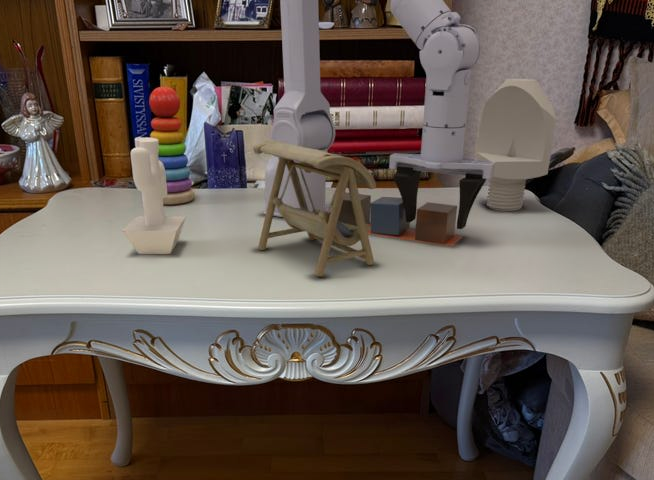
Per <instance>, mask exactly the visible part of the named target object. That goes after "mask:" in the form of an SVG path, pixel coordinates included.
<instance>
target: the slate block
mask: <svg viewBox="0 0 654 480" xmlns="http://www.w3.org/2000/svg"><path fill="white" fill-rule="evenodd" d="M370 224H371V233H376V234H388V235H400V234H401V233H403V232H404V231H406V230H407V229H410V228H411V226H410V225H411V222H406V215H405V209H404V205H403V201H402V197H394V196H391V197H390V196H381V197H379V198H377V199H376V200H374V201H372V202H371V203H370Z"/></svg>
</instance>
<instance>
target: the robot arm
mask: <svg viewBox="0 0 654 480" xmlns="http://www.w3.org/2000/svg"><path fill="white" fill-rule="evenodd" d="M279 3H280V23H281V24H280V25H281V41H282V42H281V43H282V45H281V46H282V47H281V48H282V65H283V66H282V67H283V88H284V93H283V95H282V97H281V98H280V99H279V101H278V102H277V104H276V105H275V106H274V108H273V122H272V124H271V125H272V126H271V127H270V134H269V137H270V138H269V139H270V141H277V142H283V143H287V144H291V145H296V146H301V147H304V148H310V149H315V150H320V151H324V152H327V153H329V152H328V150H329V149H330V148H331V147H332V145H333V143H334V142H335V138H336V127H335V124H334V123H335V122H334V121H333V119H332V115H331V104H330V103H329V101H328V99H326V97H325V95H324V94H323V93H322V91H321V57H320V55H321V53H320V19H319V14H320V13H319V0H279ZM389 6H390V13H391V14H392V15H393V17H394V18H395V19H396V21H397V22H398V23H399V25H400V26H401V27H402V28H403V30H404V31H405V33H406V34H407V35H408V37H409V38H410V39H411V40H412V42H413V44H414V45H415V46H416V47H417V48H418V49H419V60H420V61H419V62H420V64H421V67H422V68H423V70H424V72H425V75H426V80H425V81H426V82H425V95H424V96H425V97H424V107H423V119H422V120H423V121H422V122H423V123H422V132H421V133H422V134H421V146H420V153H399V152H395V153H391V154H390V155H389V164H388V165H389V170H396V171H395V173H394V174H393V181H394V182H395V185H396V187H397V189H398V192H399V195H400V198H402V201H403V205H404V209H405V215H406V222H410V223H411V222H413V221H414V220H415V221H416V218H417V209H418V208H417V207H418V193H419V186H420V181H421V175H422V172H426V173H434V174H435V173H436V174H447V175H456V176H465V177H463V178H461V179H459V182H458V183H459V202H458V204H459V206H458V211H457V218H456V229H457V230H464V228H465V227H466V226H467V221H468V219H469V215H470V212H471V210H472V208H473V205H474V203H475V201H476V199H477V197H478V195H479V194H480V191H481V190H482V188H483V186H484V185H485V183H486V181H487V180H490V179H491V178H492V177H493V176H494V169H495V162H489V161H482V160H476V159H474V158H470V157H464V147H465V138H466V129H467V119H468V110H469V109H468V108H469V99H470V87H471V80H472V79H471V78H472V69H473V67H475V65H476V64H477V63H478V61H479V58H480V55H481V50H482V46H481V40H480V38H479V36H478V34H477V31H476V29H475V28H474V27H473V26H471V25H469V24H461V23H460V21H461V15H460V14H459V13H458V11H452V9H450V8H449V6H448V5H447V4H446V2H445V1H444V0H390V5H389ZM279 158H280V157H276V156H272V157H271V158H270V159H269V160H268V161H267V163H266V166H265V171H264V193H265V195H264V197H265V199H264V200H265V210H263V215H264V216H265V215H266V211H267V207H268V203H269V199H270V195H271V191H272V186H273V182H274V178H275V174H276V170H277V166H278V162H279ZM293 161H294V162H296V163H300V162H299V161H295V160H293ZM295 168H296V167H295ZM296 170H297V174H298V177H299V180H300V184H301V187H302V190H303V194H304V197H305V200H306V204H307V207H308V210H309V211H310V212H312V211H313V207H312V204H311V201H310V199H309V195H308V192H307V189H306V186H305V184H304V181H303V179H302V176H301V172H300V169H299V168H296ZM302 172H303V175H304V178H305V181H306V184H307V186H308V189H309V192H310V196H311V199H312V201H313V205H314V207H315V209H318V210H320V211H326V212H327V210H328V208H329V206H326V190H327V189H326V185H327V184H326V181H327V180H326V178H327V176H325V175H321V174H318V173H314V172H311V173H307V172H305V171H304V169H302ZM288 173H289V171H288V168H287V165H286V166H285V170H284V174H283V179H282V183H281V187H280V191H279V195H278V198H280V197H281V195H282V192H283V189H284V187H285V184H286V180H287V177H288ZM282 202H283V203H284V204H287V205H289V206H292V207H294V208H300V206H299V203H298V200H297V196H296V193H295V190H294V187H293V184H292V180H291V177H290V178H289V182H288V185H287V188H286V190H285V193H284V196H283V198H282ZM331 209H332V206H331V208H330V210H329V213H328V214H329V215H330V213H331ZM273 217H279V218H283V217H282V215H281V214H280V212H279V211H278V209H277V208H276V207H275V210H274V215H273Z"/></svg>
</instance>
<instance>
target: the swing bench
mask: <svg viewBox="0 0 654 480" xmlns="http://www.w3.org/2000/svg"><path fill="white" fill-rule="evenodd" d="M252 149H253V152H254V153H255V154H257V155H260V154H261V155H262V154H265V155H269V156H272V157H275V156H276V157H280V158H279V162H278V166H277V170H276V174H275V178H274V182H273V186H272V191H271V195H270V199H269V203H268V207H267V211H266V210H265V211H266V215H265V214H264V220H263V224H262V229H261V233H260V237H259V243H258V250H260V251H265V250H266V249H267V245H268V240H269V239H271V238H277V237H282V236H287V235H293V234H298V233H303V232H306V233H307V236H308V239H309V240H310V241H314V240H318V241H321V242H322V244H321V249H320V253H319V256H318V259H317V264H316V267H315V272H314V274H315V276H316V277H320V278H321V277H323V275H324V273H325V269H326V266H327V264H328V263H333V262H338V261H339V262H340V261H342V260H348V259H353V258H356V257H358V258H360V259H362V260H365V264H366V265H367V266H373V265H374V263H375V259H374V255H373V251H372V245H371V242H370V237H369V234H368V233H367V232H368V231H369V230H370V225H369V224H365V220H364V215H363V211H362V206H361V202H360V197H359V194H360V192H359V188H358V184H359V185H360V186H365V188H366V189H368V190H369V189H370V190H375V189H376V187H377V183H376V180H375V179H374V177H373V174H371V172H370V170H369V169H368V168H367V167H365V166H364V165H363V164H362V163H360V162H359V161H358V160H356V159H353V158H351V157H346V156H342V155H339V154H334V153H330V152H328V153H327V152H324V151H320V150H315V149H310V148H304V147H301V146H296V145H291V144H287V143H283V142H277V141H271V140H270V141H264V142H261V143H258V144H256V145H254V146H253V147H252ZM293 160H295V161H299V162H300V163H296V162H294V161H293ZM286 165H287V168H288V171H289V173H288V177H287V180H286V184H285V187H284V189H283V192H282V195H281V197H280V198H278V195H279V191H280V187H281V183H282V179H283V174H284V170H285V166H286ZM295 167H296V168H299V169H300V172H301V176H302V179H303V181H304V184H305V186H306V189H307V192H308V195H309V199H310V201H311V204H312V207H313V211H312V212H310V211H309V210H308V207H307V204H306V200H305V197H304V194H303V190H302V187H301V184H300V180H299V177H298V174H297V170H296V168H295ZM302 169H304V171H305V172H307V173H311V172H314V173H318V174H321V175H325V176H326V177H329V178H333V179H337V180H338V182H337V185H336V186H335V189H334V192H333V194H332V197H331V201H330V203H329V206H328V207H329V208H328V210H327V212H326V211H320V210H318V209H315V207H314V205H313V201H312V199H311V196H310V192H309V189H308V186H307V184H306V181H305V178H304V175H303V172H302ZM290 177H291V180H292V184H293V187H294V190H295V193H296V196H297V200H298V203H299V206H300V208H294V207H292V206H289V205H287V204H284V203H283V202H282V198H283V196H284V193H285V190H286V188H287V185H288V182H289V178H290ZM347 188H348V193H349V194H350V199H351V202H352V206H353V211H354V215H355V219H356V223H357V226H354V225H350V224H344V223H343V222H340V221H338V217H339V213H340V210H341V206H342V202H343V198H344V194H345V192H346V190H347ZM332 203H333V205H332ZM275 207H276V208H277V209H278V211H279V212H280V214H281V215H282V217H281V218H283V220H284V221H285V222H286V224H287V225H288V226H289V227H290V228H287V229H282V230H277V231H271V232H270V230H271V227H272V223H273V218H274V216H273V215H274V210H275ZM331 207H332V209H331V213H329V210H330V208H331ZM328 213H329V214H328ZM359 241H360V244H361V248H362V249H360V250H359V249H356V248H353V247H351V246H354V245H355V244H357V243H358V242H359ZM331 247H334V248H337V249H339V250H341V251H343V252H345V253H341V254H334V255H329V254H330V251H331Z"/></svg>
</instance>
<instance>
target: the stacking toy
mask: <svg viewBox="0 0 654 480" xmlns="http://www.w3.org/2000/svg"><path fill="white" fill-rule="evenodd" d="M148 102H149V103H148V104H149V107H150V110H151V111H152V113H153V115H154V116H156V117H154V118H152V119H151V121H150V125H151V128H152V131H151V133H150V134H149V138H156V139H158V140H159V152H158V158H159V161H161V162H162V163H163V165H164V168H165V174H166V184H167V196H166V197H165V198H163V205H167V206H169V205H170V206H171V205H182V204H187V203H189V202H191V201H193V199H194V198H195V191H194V189H192V185H193V181H192V179H191V178H190V176H191V169H190V166H188V163H189V159H188V156H187V155H186V154H185V153H186V151H187V147H186V144H185V143H184V142H182V141H183V140H184V134H183V132H182V131H181V130H180V129H181V128H182V121H181V119H180V118H179V117H177V116H176V115H177V114H178V113H179V110H180V108H181V98H180V96H179V94H178V92H176V91H175V90H174V89H173V88H171V87H168V86H159V87H156V88H154V89H153V90H152V92H151V93H150V95H149V100H148Z"/></svg>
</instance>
